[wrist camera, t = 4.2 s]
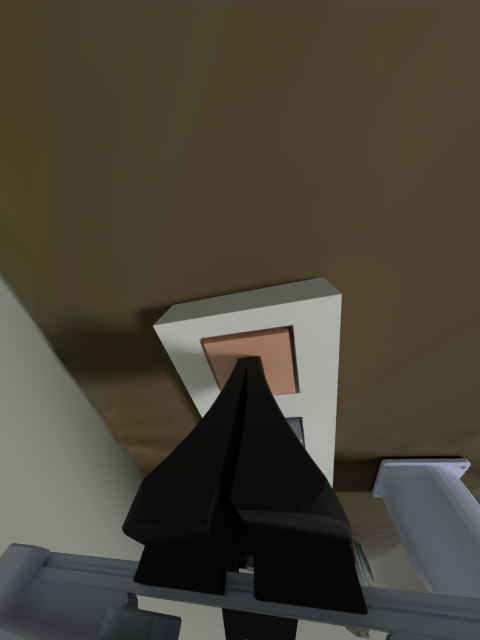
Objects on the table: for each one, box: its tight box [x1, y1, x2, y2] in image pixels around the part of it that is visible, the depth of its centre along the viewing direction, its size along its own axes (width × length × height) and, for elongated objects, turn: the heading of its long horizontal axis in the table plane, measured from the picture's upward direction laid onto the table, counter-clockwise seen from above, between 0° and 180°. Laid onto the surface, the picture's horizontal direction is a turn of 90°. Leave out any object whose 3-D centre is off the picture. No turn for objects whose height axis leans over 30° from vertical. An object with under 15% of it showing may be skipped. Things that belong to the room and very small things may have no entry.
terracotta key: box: [204, 326, 296, 395], centre depth 12 cm, size 5×5×2 cm
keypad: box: [153, 277, 342, 489], centre depth 16 cm, size 24×10×3 cm, turn 13°
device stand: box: [222, 561, 298, 640], centre depth 43 cm, size 22×22×15 cm
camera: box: [345, 538, 374, 639], centre depth 31 cm, size 15×7×10 cm, turn 26°
